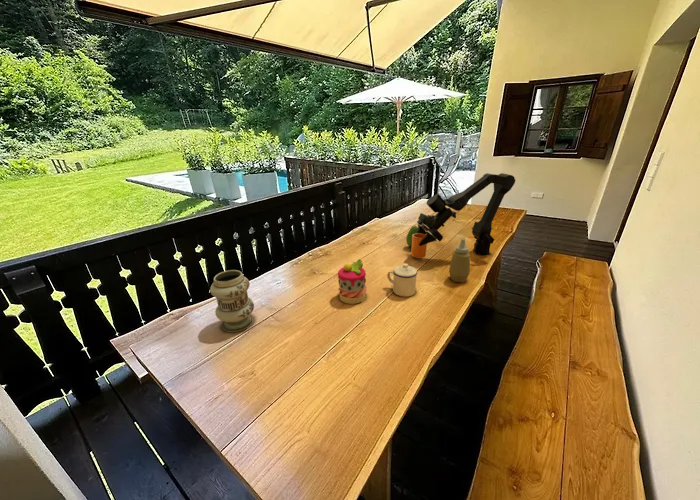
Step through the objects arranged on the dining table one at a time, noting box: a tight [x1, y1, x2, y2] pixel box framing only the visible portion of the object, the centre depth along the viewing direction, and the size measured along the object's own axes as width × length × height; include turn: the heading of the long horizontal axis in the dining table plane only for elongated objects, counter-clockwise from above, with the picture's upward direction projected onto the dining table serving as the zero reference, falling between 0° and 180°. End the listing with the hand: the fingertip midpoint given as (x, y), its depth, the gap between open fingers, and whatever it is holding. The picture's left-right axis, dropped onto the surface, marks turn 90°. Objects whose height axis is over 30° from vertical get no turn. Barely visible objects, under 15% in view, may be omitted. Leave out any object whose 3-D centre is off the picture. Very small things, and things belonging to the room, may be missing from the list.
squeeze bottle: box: [448, 238, 471, 283], centre depth 122 cm, size 8×8×18 cm
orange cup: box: [410, 233, 428, 259], centre depth 144 cm, size 7×7×10 cm
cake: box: [337, 258, 367, 305], centre depth 112 cm, size 10×11×15 cm
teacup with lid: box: [386, 263, 418, 297], centre depth 116 cm, size 12×9×12 cm
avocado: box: [405, 225, 418, 249], centre depth 157 cm, size 8×8×12 cm
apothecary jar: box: [209, 269, 255, 333], centre depth 97 cm, size 12×12×18 cm
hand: (416, 242), depth 143 cm, fingers closed on orange cup, 7 cm apart
